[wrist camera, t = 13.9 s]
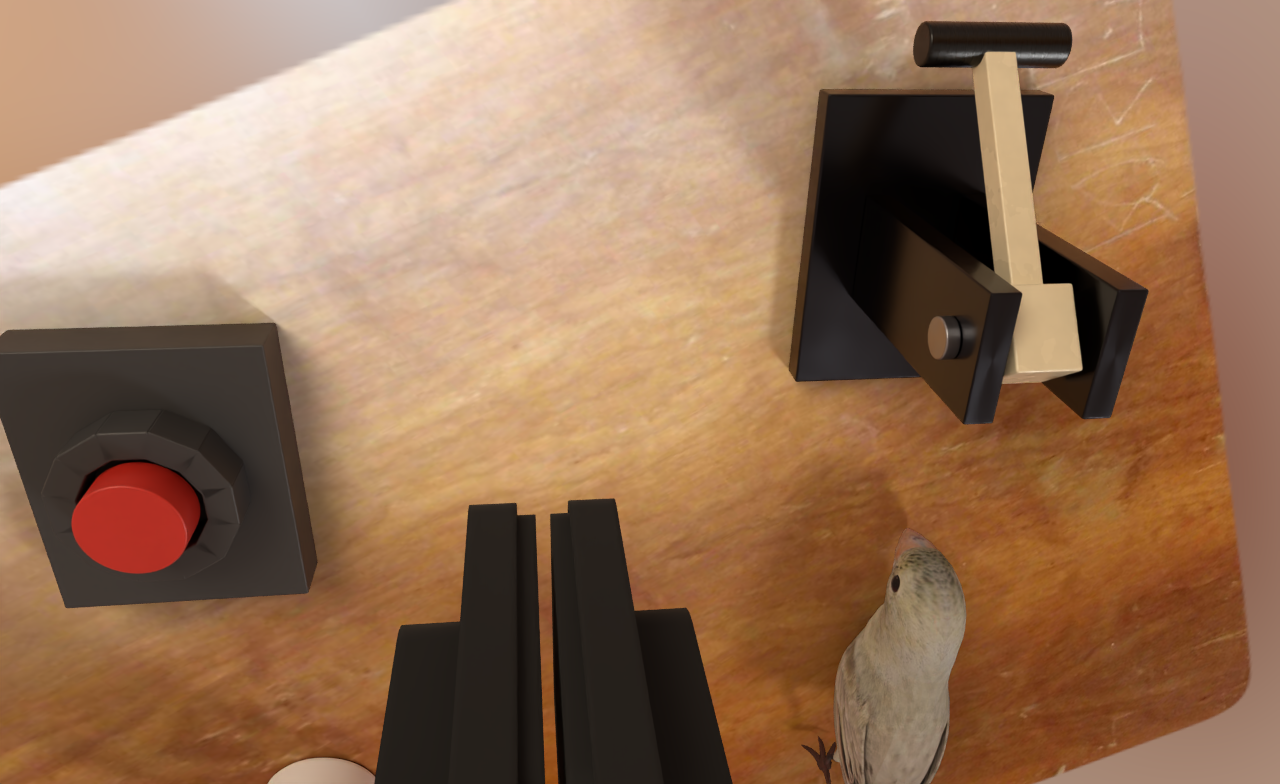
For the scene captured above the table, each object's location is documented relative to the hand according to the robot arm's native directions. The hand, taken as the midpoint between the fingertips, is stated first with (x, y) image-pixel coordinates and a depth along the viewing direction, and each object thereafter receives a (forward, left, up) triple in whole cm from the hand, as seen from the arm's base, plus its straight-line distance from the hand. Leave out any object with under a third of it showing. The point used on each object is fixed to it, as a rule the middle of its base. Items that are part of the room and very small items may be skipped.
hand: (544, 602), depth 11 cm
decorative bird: (+30, +12, -27) cm, 42 cm away
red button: (+10, -17, -23) cm, 31 cm away
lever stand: (+7, +15, -27) cm, 31 cm away
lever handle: (+4, +15, -20) cm, 26 cm away
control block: (+10, -17, -27) cm, 33 cm away
